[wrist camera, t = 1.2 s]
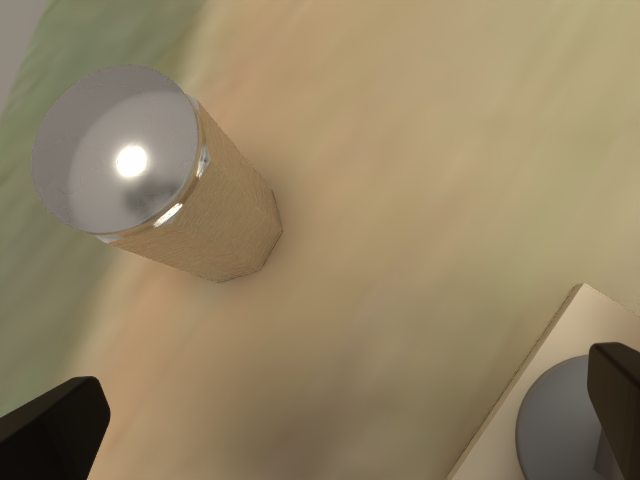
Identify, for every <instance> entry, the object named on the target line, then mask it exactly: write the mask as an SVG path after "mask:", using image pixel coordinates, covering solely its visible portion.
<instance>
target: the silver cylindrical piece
mask: <svg viewBox="0 0 640 480" xmlns="http://www.w3.org/2000/svg"><path fill="white" fill-rule="evenodd" d="M31 167H32V177H33V182H34V186H35V189H36V192H37V194H38V196H39V198H40V200H41V202H42V203H43V204H44V206H45V207H46V209H47V210H48V211H49V212H50V213H51V214H52V215H53V216H54V217H55V218H57V219H58V220H60V221H61V222H62V223H64V224H66V225H68V226H70V227H73V228H75V229H78V230H81V231H84V232H86V233H89V234H92V235H94V236H95V237H97V238H98V239H100V240H102V241H103V242H105V243H107V244H109V245H112V246H115V247H118V248H121V249H124V250H126V251H129V252H132V253H135V254H138V255H140V256H143V257H146V258H149V259H152V260H155V261H157V262H160V263H163V264H166V265H169V266H172V267H174V268H177V269H180V270H183V271H186V272H189V273H191V274H194V275H197V276H200V277H203V278H206V279H208V280H211V281H214V282H217V283H219V282H223V281H226V280H229V279H233V278H236V277H239V276H242V275H246V274H249V273H252V272H256V271H259V270H260V269H261V268H262V266H263V264H264V262H265V261H266V259H267V257H268V256H269V254H270V252H271V250H272V249H273V247H274V245H275V244H276V242H277V240H278V238H279V237H280V235H281V233H282V227H281V223H280V219H279V215H278V211H277V207H276V203H275V199H274V196H273V192H272V190H271V189H270V187H269V186H268V185H267V184H266V183H265V181H264V180H263V179H262V178H261V177H260V175H259V174H258V173H257V172H256V170H255V169H254V168H253V167H252V166H251V164H250V163H249V162H248V161H247V160H246V158H245V157H244V156H243V155H242V153H241V152H240V151H239V150H238V149H237V147H236V146H235V145H234V144H233V143H232V141H231V140H230V139H229V138H228V136H227V135H226V134H225V133H224V132H223V130H222V129H221V128H220V127H219V126H218V124H217V123H216V122H215V121H214V119H213V118H212V117H211V116H210V115H209V113H208V112H207V111H206V110H205V109H204V107H203V106H202V105H201V104H200V103H199V101H198V100H197V99H195V98H193V97H191V96H189V95H187V94H185V93H184V92H183V91H182V90H181V88H180V87H179V86H178V85H177V84H176V83H175V82H174V81H172V80H171V79H170V78H169V77H167V76H166V75H164V74H162V73H160V72H159V71H156V70H153V69H151V68H147V67H142V66H135V65H122V66H115V67H109V68H106V69H102V70H99V71H97V72H94V73H92V74H90V75H88V76H86V77H84V78H83V79H81V80H79V81H78V82H76V83H75V84H74V85H72V86H71V87H70V88H68V89H67V90H66V91H65V92H64V93H63V94H62V95H61V96H60V97H59V98H58V99H57V100H56V101H55V103H54V104H53V105H52V107H51V108H50V109H49V111H48V112H47V114H46V115H45V117H44V119H43V121H42V123H41V125H40V127H39V129H38V132H37V135H36V138H35V141H34V145H33V150H32V160H31Z"/></svg>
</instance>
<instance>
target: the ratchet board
mask: <svg viewBox="0 0 640 480" xmlns="http://www.w3.org/2000/svg"><path fill="white" fill-rule="evenodd" d="M603 342H620V343H622V344H625V345H627V346H629V347H631V348H633V349H635V350H637V351H639V352H640V317H639V316H637V315H636V314H634V313H632V312H631V311H629V310H628V309H626V308H624V307H623V306H621V305H619V304H618V303H616V302H615V301H613V300H611V299H610V298H608V297H606V296H605V295H603V294H602V293H600V292H598V291H597V290H595V289H594V288H592V287H590V286H589V285H587V284H585V283H582V284H579V285H577V286H575V288H574V289H573V291H572V292H571V294H570V295H569V297H568V298H567V299H566V301H565V302H564V304H563V305H562V307H561V308H560V310H559V311H558V313H557V314H556V316H555V317H554V319H553V320H552V322H551V323H550V325H549V326H548V328H547V329H546V331H545V332H544V334H543V335H542V336H541V338H540V339H539V341H538V342H537V344H536V345H535V347H534V348H533V350H532V351H531V353H530V354H529V356H528V357H527V359H526V360H525V362H524V363H523V365H522V366H521V368H520V369H519V371H518V372H517V373H516V375H515V376H514V378H513V379H512V381H511V382H510V384H509V385H508V387H507V388H506V390H505V391H504V393H503V394H502V396H501V397H500V399H499V400H498V402H497V403H496V405H495V406H494V408H493V409H492V410H491V412H490V413H489V415H488V416H487V418H486V419H485V421H484V422H483V424H482V425H481V427H480V428H479V430H478V431H477V433H476V434H475V436H474V437H473V439H472V440H471V442H470V443H469V444H468V446H467V447H466V449H465V450H464V452H463V453H462V455H461V456H460V458H459V459H458V461H457V462H456V464H455V465H454V467H453V468H452V470H451V471H450V473H449V474H448V476H447V477H446V479H447V480H624V478H623V476H622V474H621V471H620V469H619V467H618V464H617V462H616V460H615V457H614V455H613V452H612V450H611V448H610V445H609V443H608V441H607V438H606V436H605V434H604V431H603V429H602V426H601V424H600V422H599V419H598V417H597V415H596V412H595V410H594V408H593V405H592V403H591V400H590V398H589V395H588V390H587V372H588V357H589V349H590V347H591V345H593V344H594V343H603Z"/></svg>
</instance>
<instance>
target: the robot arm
mask: <svg viewBox="0 0 640 480" xmlns="http://www.w3.org/2000/svg"><path fill="white" fill-rule="evenodd" d="M587 390H588V395H589V398H590V400H591V403H592V405H593V408H594V410H595V412H596V415H597V417H598V419H599V422H600V424H601V426H602V429H603V431H604V434H605V436H606V438H607V441H608V443H609V445H610V448H611V450H612V452H613V455H614V457H615V460H616V462H617V464H618V467H619V469H620V471H621V474H622V476H623V478H624V480H640V352H639V351H637V350H635V349H633V348H631V347H629V346H627V345H625V344H622V343H620V342H603V343H594V344H593V345H591V347H590V349H589V357H588V372H587ZM110 414H111V413H110V408H109V405H108V402H107V400H106V397H105V395H104V392H103V390H102V387H101V384H100V382H99V380H98V379H97V378H96V377H93V376H84V377H74V378H72V379H70V380H68V381H66V382H64V383H62V384H61V385H59V386H57V387H55V388H53V389H52V390H50V391H48V392H46V393H44V394H43V395H41V396H39V397H37V398H35V399H34V400H32V401H30V402H28V403H26V404H24V405H23V406H21V407H19V408H17V409H15V410H14V411H12V412H10V413H8V414H6V415H5V416H3V417H1V418H0V480H87V478H88V475H89V473H90V470H91V467H92V465H93V462H94V460H95V457H96V455H97V452H98V450H99V447H100V445H101V442H102V440H103V437H104V435H105V432H106V430H107V427H108V425H109V422H110Z"/></svg>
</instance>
